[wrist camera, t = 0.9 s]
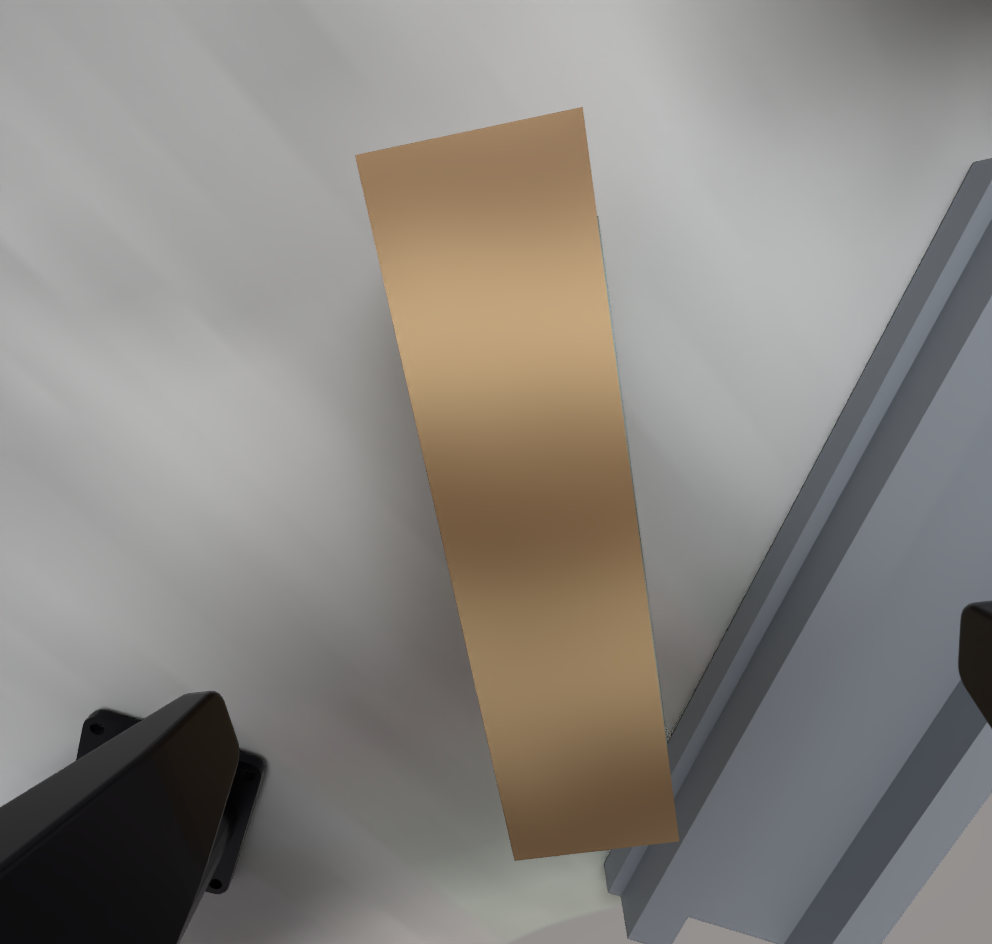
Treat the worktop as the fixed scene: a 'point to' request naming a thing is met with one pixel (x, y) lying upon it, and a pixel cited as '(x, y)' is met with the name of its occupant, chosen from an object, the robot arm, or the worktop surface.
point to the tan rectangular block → (530, 470)
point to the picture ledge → (849, 651)
